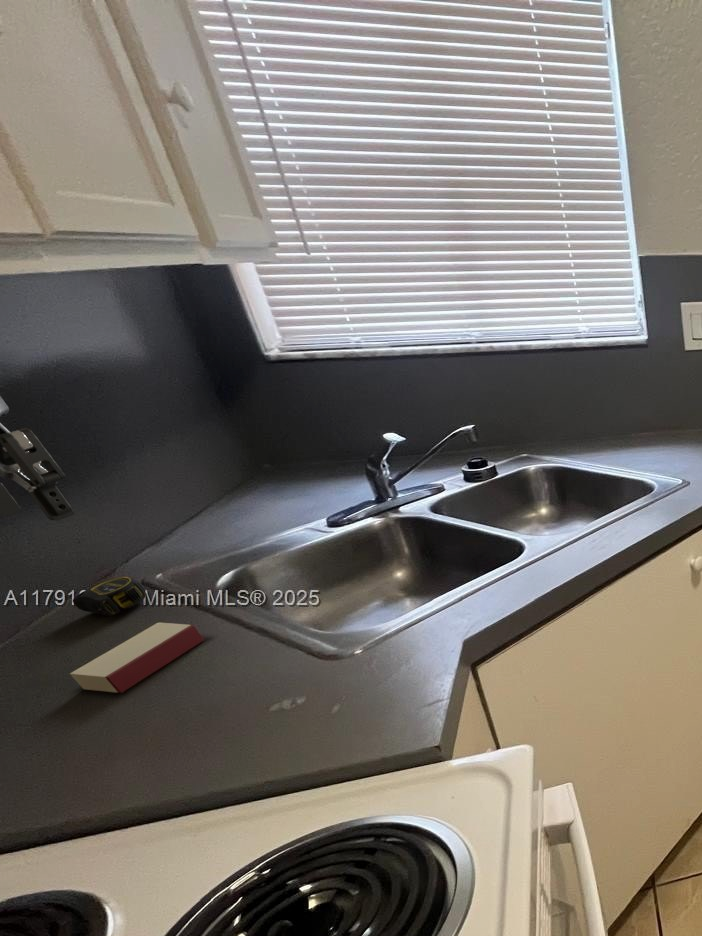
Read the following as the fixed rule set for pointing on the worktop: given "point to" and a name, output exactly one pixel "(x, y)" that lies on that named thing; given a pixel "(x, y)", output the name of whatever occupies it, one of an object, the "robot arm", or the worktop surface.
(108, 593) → the tape measure
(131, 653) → the pocket book
